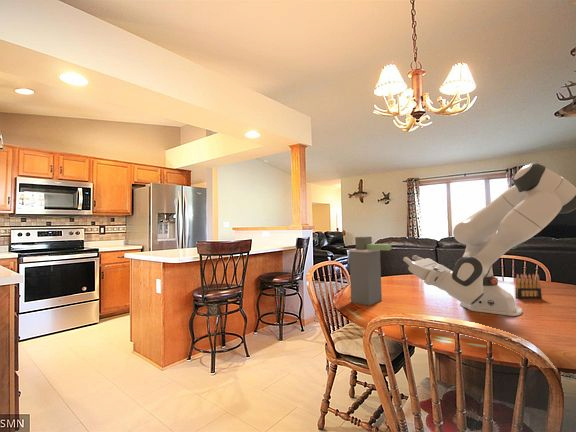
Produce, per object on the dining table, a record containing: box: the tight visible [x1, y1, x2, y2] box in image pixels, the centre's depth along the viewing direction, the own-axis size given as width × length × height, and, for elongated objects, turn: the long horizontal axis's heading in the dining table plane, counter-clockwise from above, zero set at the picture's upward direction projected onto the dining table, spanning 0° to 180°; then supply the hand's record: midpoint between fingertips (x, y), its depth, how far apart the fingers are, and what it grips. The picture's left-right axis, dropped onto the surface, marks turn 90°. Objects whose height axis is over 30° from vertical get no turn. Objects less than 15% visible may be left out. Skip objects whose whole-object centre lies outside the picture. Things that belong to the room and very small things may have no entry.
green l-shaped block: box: [354, 236, 392, 251], centre depth 143 cm, size 16×7×6 cm, turn 44°
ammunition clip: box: [515, 273, 543, 300], centre depth 144 cm, size 11×2×12 cm, turn 82°
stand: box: [348, 248, 383, 307], centre depth 147 cm, size 10×12×26 cm
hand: (408, 257), depth 130 cm, fingers open, 8 cm apart
